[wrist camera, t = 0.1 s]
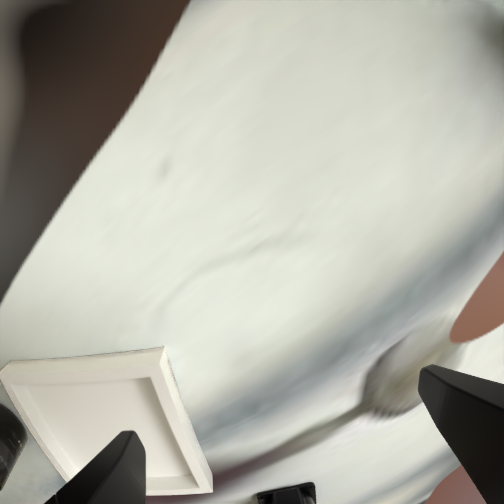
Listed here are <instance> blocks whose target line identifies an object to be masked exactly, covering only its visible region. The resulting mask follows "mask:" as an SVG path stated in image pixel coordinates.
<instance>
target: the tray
mask: <svg viewBox="0 0 504 504" xmlns="http://www.w3.org/2000/svg"><path fill="white" fill-rule="evenodd" d="M0 379H1V381H2V383H3V385H4V387H5V389H6V391H7V393H8V395H9V397H10V398H11V400H12V402H13V404H14V406H15V407H16V409H17V411H18V412H19V414H20V416H21V418H22V419H23V421H24V422H25V424H26V426H27V427H28V429H29V430H30V432H31V434H32V435H33V437H34V438H35V440H36V441H37V443H38V444H39V446H40V447H41V449H42V450H43V451H44V453H45V454H46V456H47V457H48V458H49V460H50V461H51V463H52V464H53V465H54V467H55V468H56V469H57V471H58V472H59V473H60V474H61V476H62V477H63V478H64V480H65V481H66V482H68V481H70V480H71V479H72V478H73V477H74V476H75V475H76V474H77V473H78V472H79V471H80V470H81V469H82V468H83V467H85V466H86V465H87V464H88V463H89V462H90V461H91V460H92V459H93V458H94V457H95V456H96V455H97V454H98V453H99V452H100V451H101V450H102V449H103V448H105V447H106V446H107V445H108V444H109V443H110V442H111V441H112V440H113V439H114V438H115V437H116V436H117V435H118V434H119V433H120V432H121V431H124V430H134V431H135V432H136V433H137V435H138V436H139V438H140V440H141V442H142V444H143V446H144V448H145V451H146V495H182V494H199V493H211V492H213V482H212V473H211V470H210V468H209V466H208V463H207V461H206V459H205V456H204V454H203V452H202V449H201V447H200V444H199V442H198V440H197V437H196V435H195V432H194V430H193V427H192V424H191V422H190V419H189V417H188V414H187V411H186V409H185V406H184V403H183V400H182V398H181V395H180V392H179V389H178V386H177V384H176V381H175V378H174V375H173V372H172V369H171V366H170V363H169V360H168V357H167V354H166V350H165V347H158V348H151V349H143V350H135V351H127V352H118V353H109V354H100V355H89V356H78V357H66V358H53V359H37V360H16V361H10V362H9V363H8V364H7V365H6V366H5V367H4V368H3V369H2V370H1V371H0Z"/></svg>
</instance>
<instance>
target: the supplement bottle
mask: <svg viewBox="0 0 504 504" xmlns="http://www.w3.org/2000/svg"><path fill="white" fill-rule="evenodd" d="M26 442H27V434H26V431H25V428H24V426H23V425H22V423H21V422H20V420H19V419H18V418H17V417H16V416H15V415H14V414H13V413H12V412H11V411H10V410H9V409H8V408H6V407H5V406H3V405H2V404H0V491H1V490H2V489H3V487H4V485H5V483H6V481H7V479H8V477H9V475H10V473H11V471H12V469H13V467H14V465H15V463H16V461H17V460H18V458H19V456H20V454H21V452H22V450H23V448H24V446H25V445H26Z"/></svg>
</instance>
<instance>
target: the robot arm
mask: <svg viewBox="0 0 504 504" xmlns="http://www.w3.org/2000/svg"><path fill="white" fill-rule="evenodd" d="M418 392H419V395H420V397H421V398H422V400H423V402H424V404H425V406H426V408H427V410H428V412H429V414H430V415H431V417H432V419H433V421H434V423H435V425H436V427H437V428H438V430H439V431H440V433H441V434H442V436H443V437H444V439H445V440H446V442H447V443H448V445H449V446H450V448H451V449H452V451H453V452H454V454H455V455H456V457H457V458H458V460H459V461H460V463H461V464H462V466H463V467H464V469H465V470H466V472H467V473H468V475H469V476H470V478H471V479H472V481H473V482H474V484H475V485H476V487H477V489H478V490H479V492H480V494H481V495H482V497H483V498H484V500H485V501H486V503H487V504H504V384H501V383H498V382H494V381H490V380H486V379H483V378H479V377H475V376H472V375H468V374H465V373H461V372H458V371H454V370H451V369H447V368H444V367H440V366H437V365H433V364H431V365H428V366H426V367H423V368H422V369H421V371H420V376H419V384H418ZM257 499H258V502H259V504H316V491H315V484H314V483H307V484H303V485H298V486H294V487H289V488H285V489H280V490H274V491H269V492H263V493H259V494H257ZM145 500H146V451H145V448H144V446H143V444H142V442H141V440H140V438H139V436H138V435H137V433H136V432H135V431H134V430H124V431H121V432H120V433H119V434H118V435H117V436H116V437H115V438H114V439H113V440H112V441H111V442H110V443H109V444H108V445H107V446H106V447H105V448H103V449H102V450H101V451H100V452H99V453H98V454H97V455H96V456H95V457H94V458H93V459H92V460H91V461H90V462H89V463H88V464H87V465H86V466H85V467H83V468H82V469H81V470H80V471H79V472H78V473H77V474H76V475H75V476H74V477H73V478H72V479H71V480H70V481H68V482H67V483H66V484H65V485H64V486H63V487H62V488H61V489H60V490H59V491H58V492H57V493H56V495H55V494H54V495H53V496H52V497H51V498H50V499H49V500H48V501H46V502H45V503H44V504H145Z"/></svg>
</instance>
